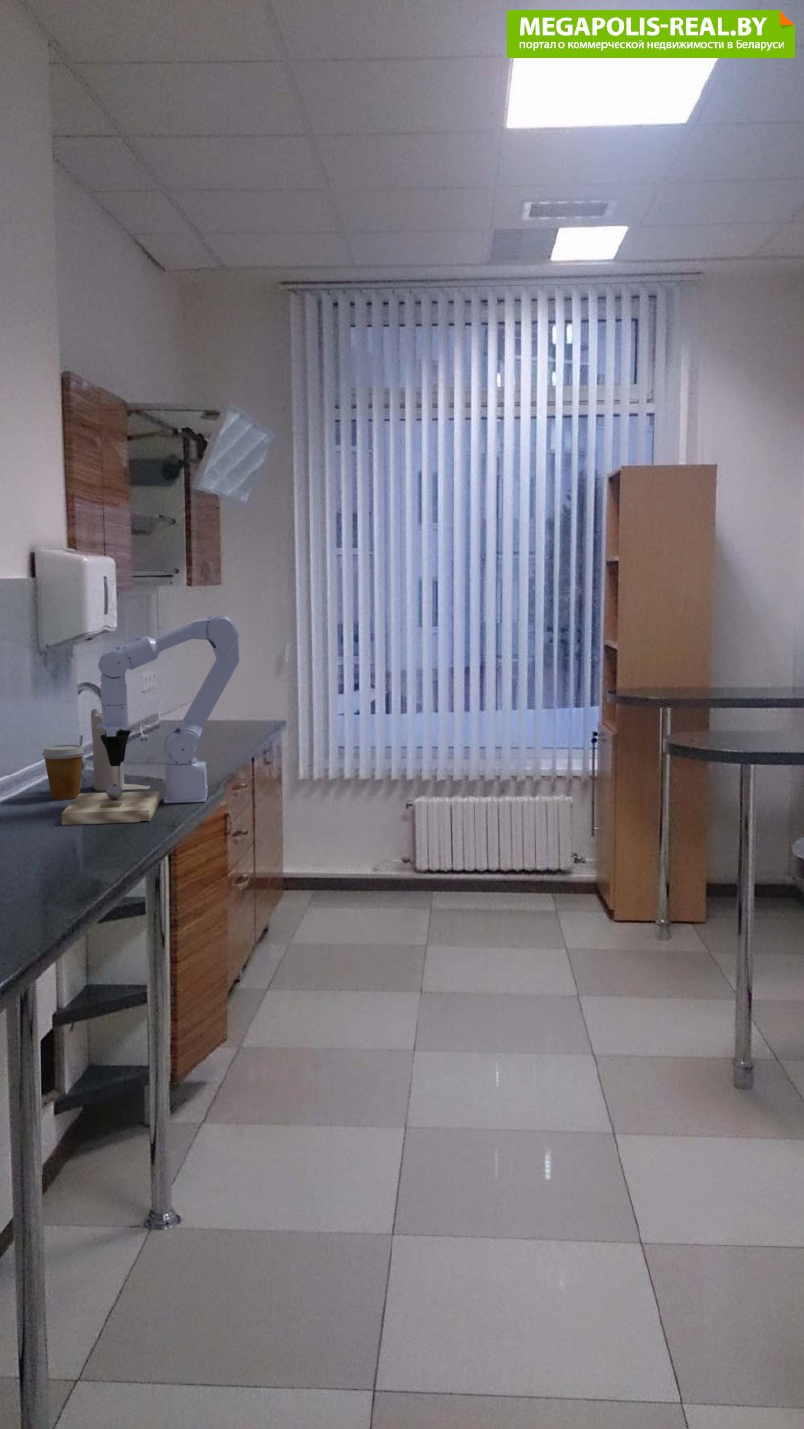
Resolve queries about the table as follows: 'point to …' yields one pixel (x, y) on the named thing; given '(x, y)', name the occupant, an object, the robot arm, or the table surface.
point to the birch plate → (111, 808)
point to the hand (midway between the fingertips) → (117, 764)
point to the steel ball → (114, 791)
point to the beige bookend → (106, 761)
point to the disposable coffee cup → (64, 770)
